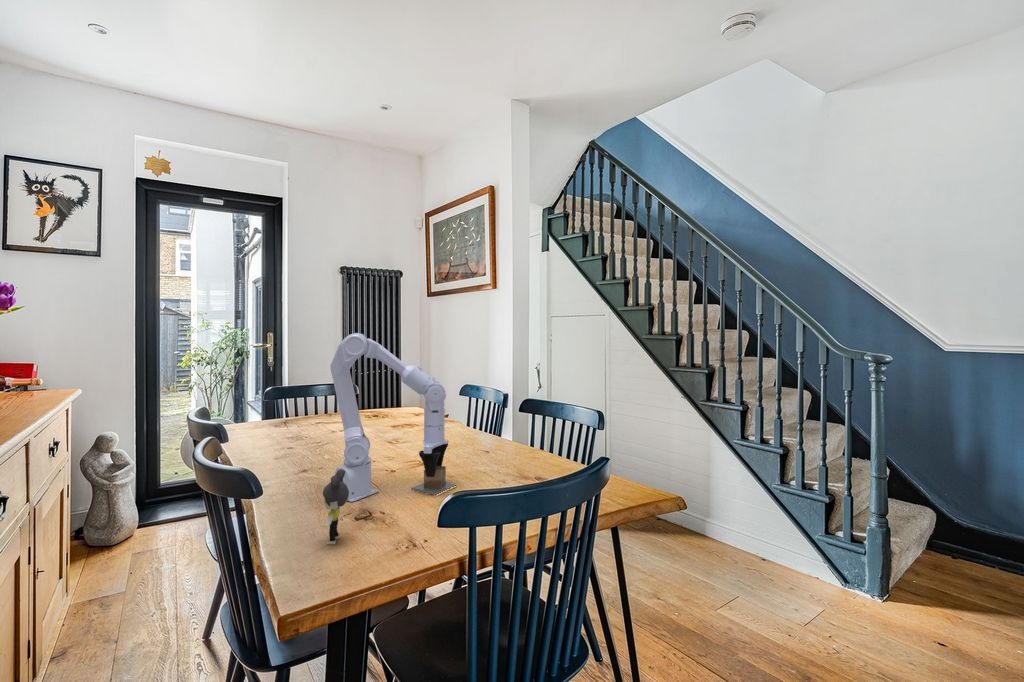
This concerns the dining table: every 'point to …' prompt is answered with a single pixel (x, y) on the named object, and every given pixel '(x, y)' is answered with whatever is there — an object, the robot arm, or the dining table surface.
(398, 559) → the dining table surface
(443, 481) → the walnut block
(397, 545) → the dining table surface
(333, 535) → the toy
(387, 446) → the dining table surface
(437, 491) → the slate coaster
